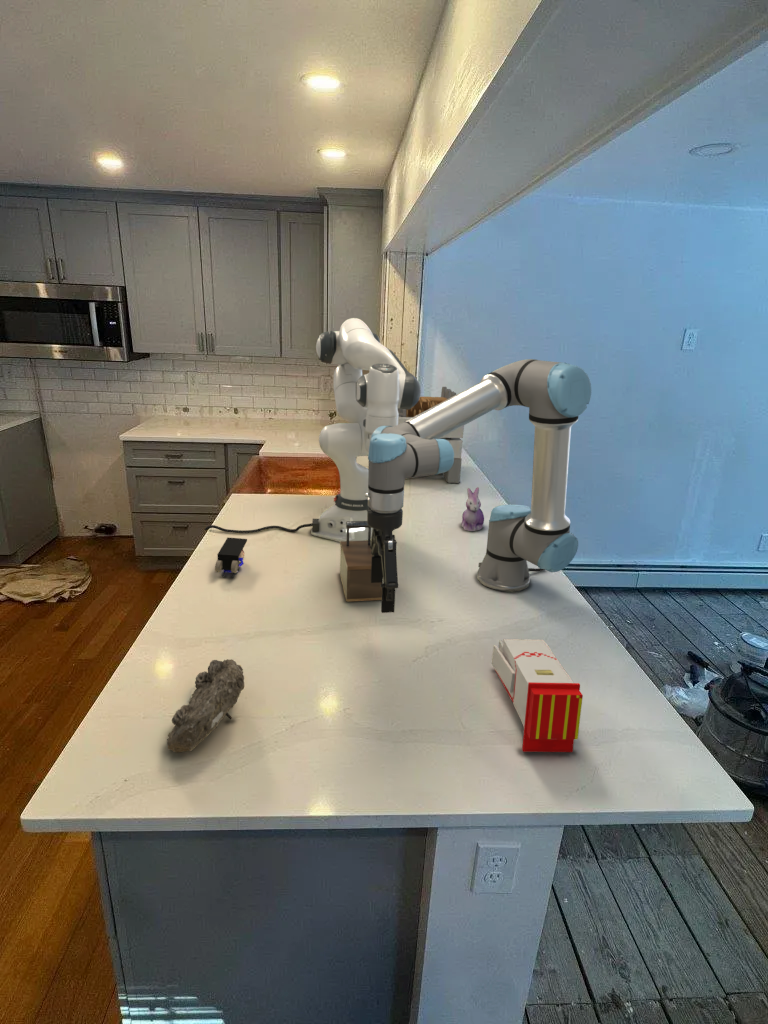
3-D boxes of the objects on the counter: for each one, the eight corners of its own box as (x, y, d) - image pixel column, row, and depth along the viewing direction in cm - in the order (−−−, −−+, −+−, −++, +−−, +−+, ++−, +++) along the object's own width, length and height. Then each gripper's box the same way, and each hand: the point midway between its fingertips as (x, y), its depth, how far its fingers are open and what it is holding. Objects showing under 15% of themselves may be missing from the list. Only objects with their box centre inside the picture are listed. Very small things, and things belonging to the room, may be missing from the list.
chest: (339, 574, 168) (340, 545, 165) (372, 573, 170) (373, 544, 166) (346, 601, 153) (347, 570, 149) (381, 599, 154) (383, 569, 151)
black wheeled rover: (238, 584, 162) (249, 557, 175) (236, 562, 158) (247, 536, 172) (215, 584, 161) (227, 556, 175) (212, 561, 158) (225, 535, 171)
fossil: (192, 660, 117) (244, 628, 112) (224, 691, 120) (276, 661, 115) (142, 746, 98) (202, 712, 93) (182, 779, 101) (242, 748, 96)
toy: (540, 622, 128) (592, 691, 98) (535, 677, 130) (584, 759, 101) (487, 621, 127) (523, 690, 98) (483, 676, 130) (516, 758, 101)
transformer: (382, 463, 289) (386, 382, 275) (445, 464, 293) (451, 384, 279) (390, 482, 257) (394, 392, 243) (460, 483, 261) (468, 394, 247)
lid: (340, 544, 165) (340, 517, 162) (373, 543, 167) (374, 516, 164) (347, 570, 149) (347, 540, 147) (383, 568, 151) (384, 539, 148)
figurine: (470, 533, 202) (474, 493, 197) (453, 524, 211) (457, 485, 206) (491, 530, 207) (495, 491, 202) (474, 520, 215) (478, 483, 210)
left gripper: (405, 432, 147) (403, 483, 152) (381, 418, 166) (380, 464, 170) (382, 433, 145) (380, 484, 150) (360, 418, 164) (359, 465, 168)
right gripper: (359, 489, 131) (357, 571, 138) (378, 531, 108) (374, 627, 115) (391, 488, 132) (387, 570, 140) (416, 529, 109) (410, 624, 117)
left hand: (380, 473), depth 160 cm, fingers open, 8 cm apart
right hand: (381, 596), depth 127 cm, fingers open, 13 cm apart
